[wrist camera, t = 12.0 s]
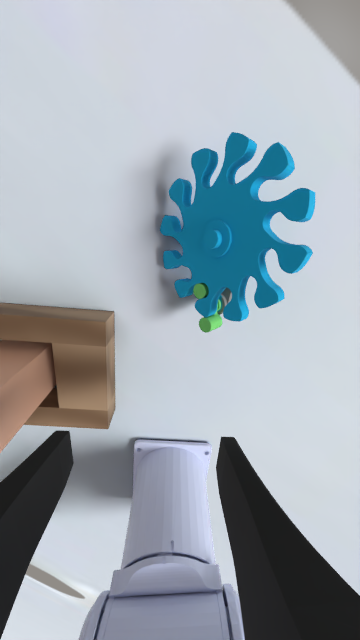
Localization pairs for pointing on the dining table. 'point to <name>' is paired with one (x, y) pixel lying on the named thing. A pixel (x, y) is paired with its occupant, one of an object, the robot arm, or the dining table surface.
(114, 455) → the dining table surface
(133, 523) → the robot arm
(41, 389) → the peg
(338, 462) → the dining table surface
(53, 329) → the socket block
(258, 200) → the gear
